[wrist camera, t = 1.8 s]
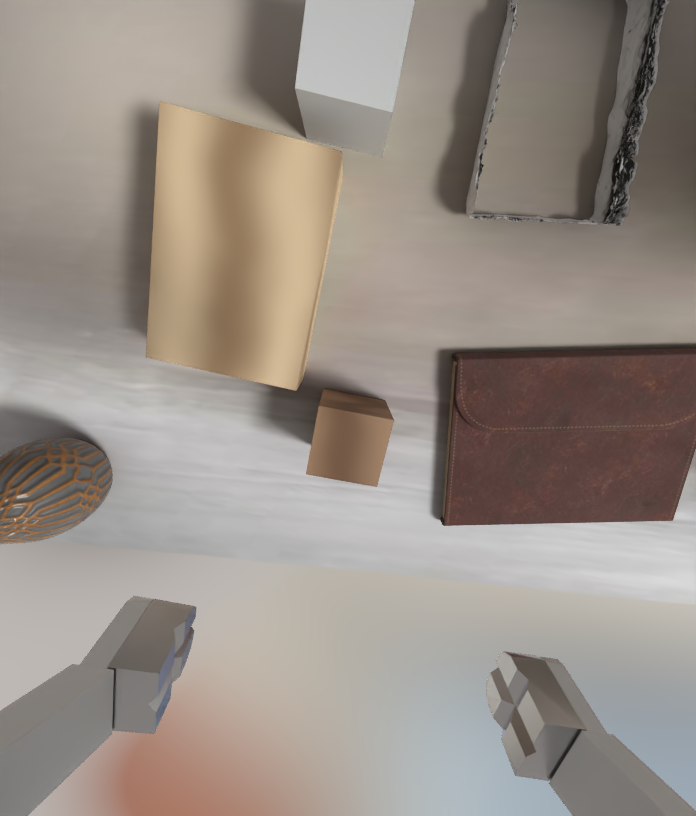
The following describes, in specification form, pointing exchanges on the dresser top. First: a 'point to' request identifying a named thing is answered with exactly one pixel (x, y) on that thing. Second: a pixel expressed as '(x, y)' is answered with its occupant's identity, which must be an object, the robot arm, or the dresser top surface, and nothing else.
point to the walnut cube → (350, 438)
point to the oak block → (238, 246)
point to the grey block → (351, 70)
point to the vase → (50, 488)
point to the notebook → (569, 436)
